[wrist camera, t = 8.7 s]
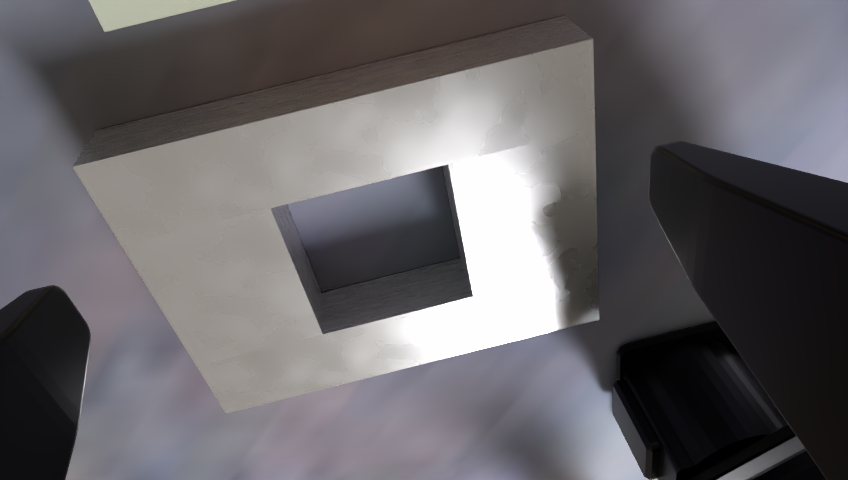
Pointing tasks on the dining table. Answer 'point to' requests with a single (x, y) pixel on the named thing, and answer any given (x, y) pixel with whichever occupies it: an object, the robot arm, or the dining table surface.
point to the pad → (143, 10)
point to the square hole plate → (351, 167)
